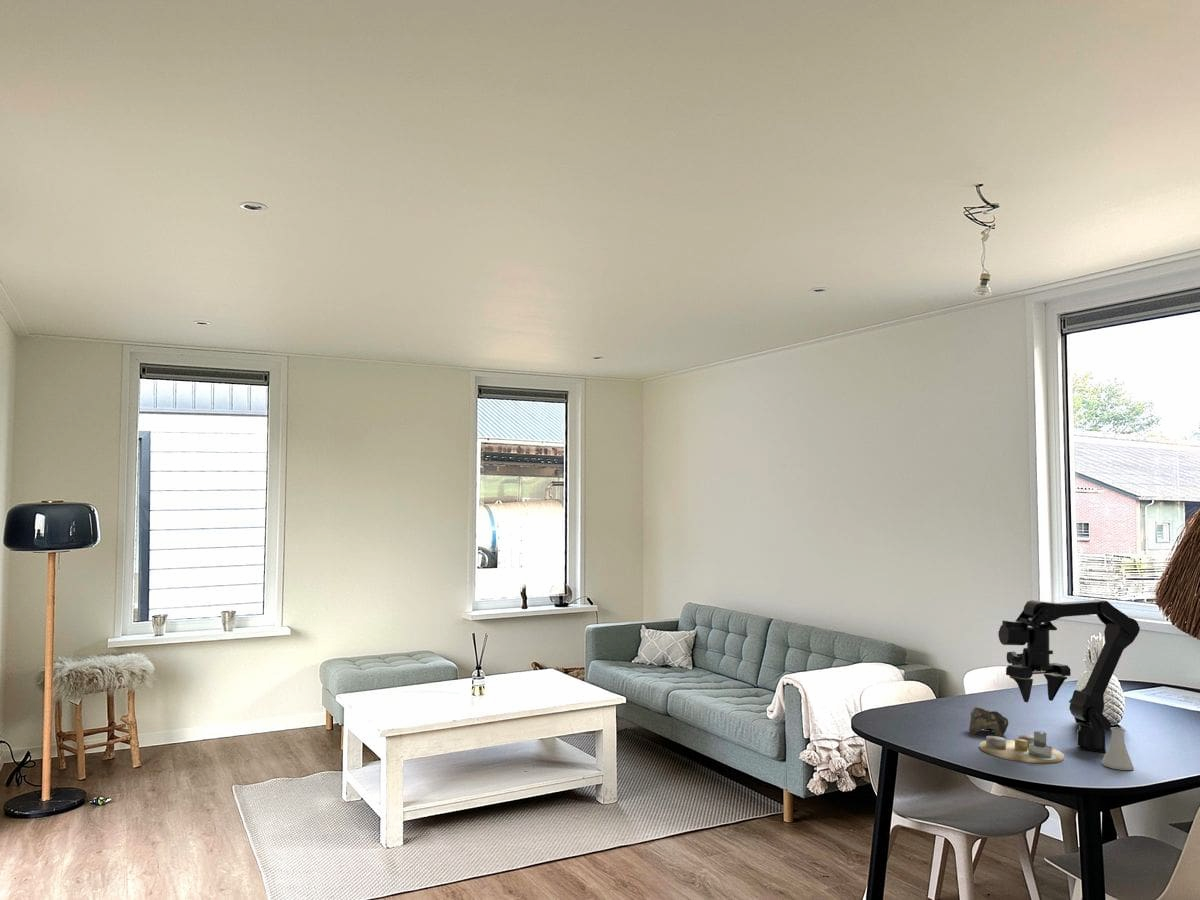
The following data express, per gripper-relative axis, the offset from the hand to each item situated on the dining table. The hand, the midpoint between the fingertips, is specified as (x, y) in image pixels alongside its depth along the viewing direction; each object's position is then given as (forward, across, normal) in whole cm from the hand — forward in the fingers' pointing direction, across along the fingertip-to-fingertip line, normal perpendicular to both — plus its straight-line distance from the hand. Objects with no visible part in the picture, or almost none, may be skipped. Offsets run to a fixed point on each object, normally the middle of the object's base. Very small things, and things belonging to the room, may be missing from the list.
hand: (1038, 701), depth 255 cm
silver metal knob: (+12, +10, +10) cm, 18 cm away
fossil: (+13, +2, -16) cm, 21 cm away
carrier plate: (+13, +10, +3) cm, 16 cm away
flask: (+13, -5, +21) cm, 25 cm away
